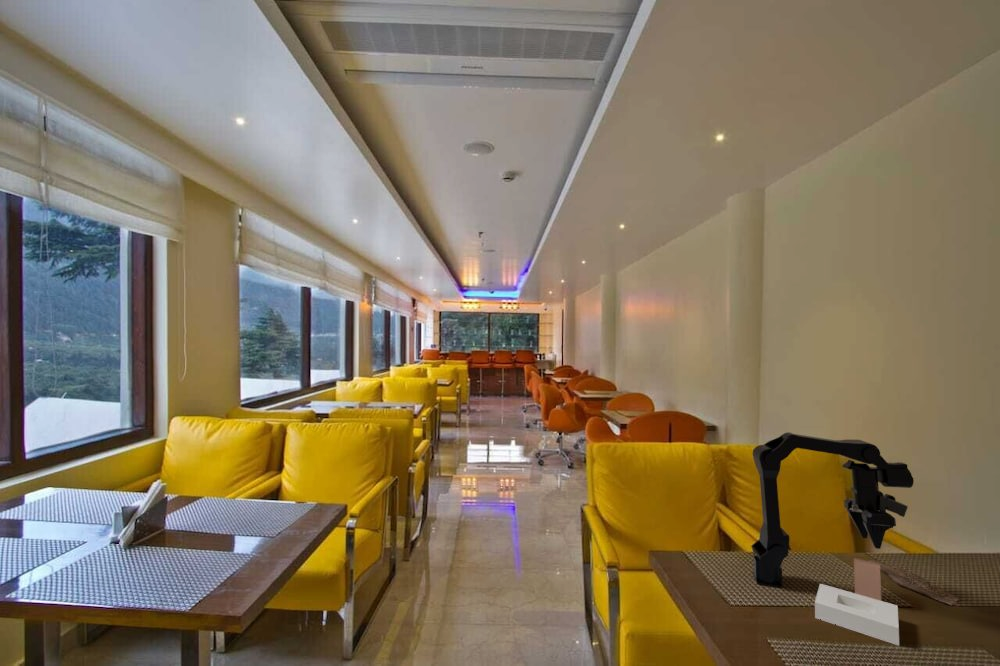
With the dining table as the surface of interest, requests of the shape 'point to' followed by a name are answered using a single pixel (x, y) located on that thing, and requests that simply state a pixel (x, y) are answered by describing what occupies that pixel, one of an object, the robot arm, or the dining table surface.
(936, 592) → the wooden fragment
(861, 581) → the pink rectangular block
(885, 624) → the white slotted block
